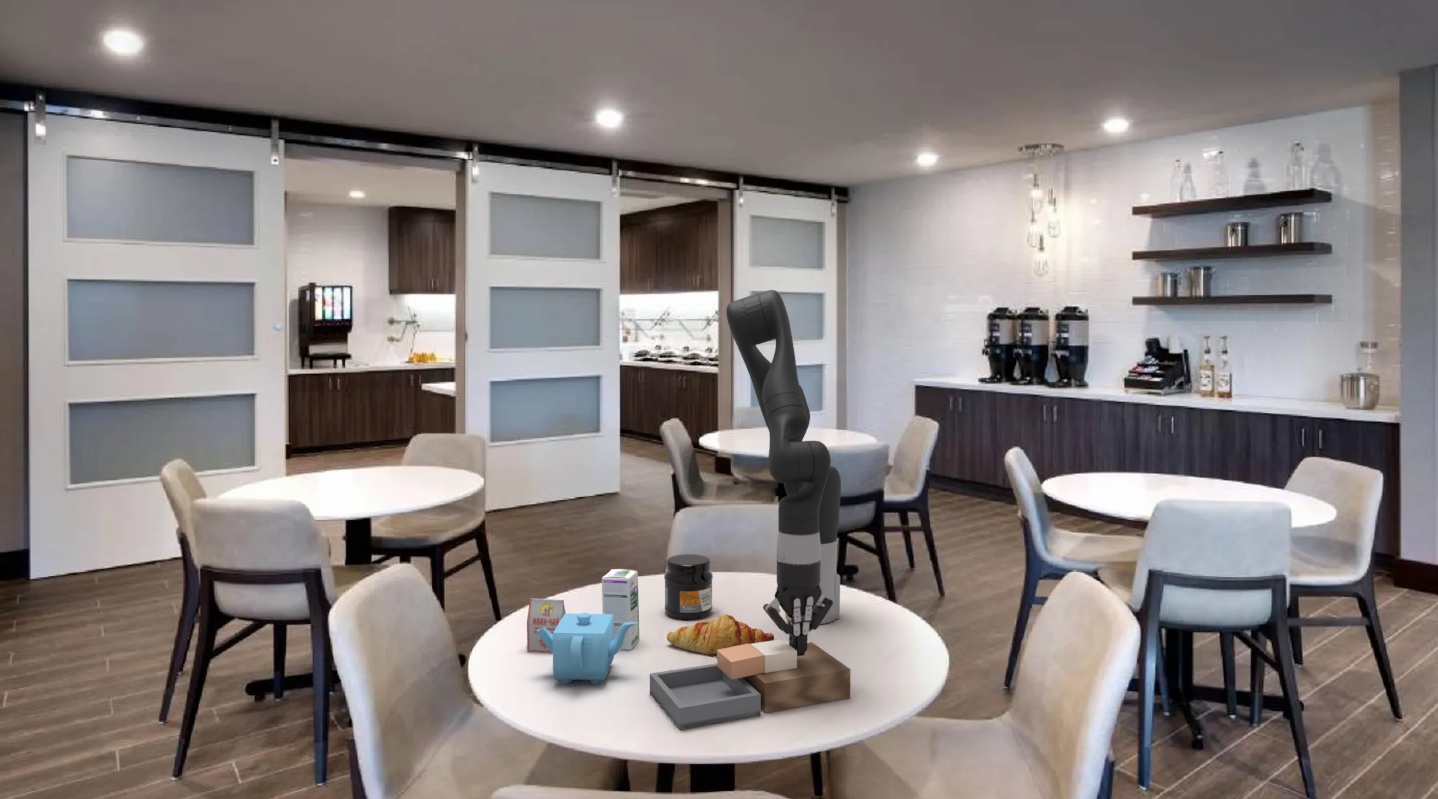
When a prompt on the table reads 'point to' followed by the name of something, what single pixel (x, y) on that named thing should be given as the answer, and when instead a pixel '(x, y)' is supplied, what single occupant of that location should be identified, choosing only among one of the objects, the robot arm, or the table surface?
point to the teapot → (584, 646)
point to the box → (703, 696)
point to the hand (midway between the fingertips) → (798, 654)
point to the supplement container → (688, 587)
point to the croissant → (716, 635)
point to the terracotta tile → (740, 661)
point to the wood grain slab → (803, 682)
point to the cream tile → (777, 655)
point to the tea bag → (542, 621)
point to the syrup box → (622, 602)
